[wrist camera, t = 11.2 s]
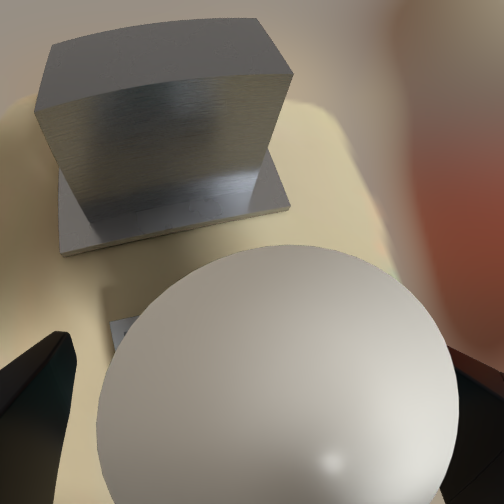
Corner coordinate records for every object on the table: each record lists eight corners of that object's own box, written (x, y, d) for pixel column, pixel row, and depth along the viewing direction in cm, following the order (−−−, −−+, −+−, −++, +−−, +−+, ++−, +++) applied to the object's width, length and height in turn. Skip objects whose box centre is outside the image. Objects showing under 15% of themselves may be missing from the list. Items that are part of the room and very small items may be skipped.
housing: (287, 210, 20) (351, 99, 11) (63, 257, 16) (-17, 158, 8) (251, 119, 23) (282, 8, 14) (62, 152, 19) (22, 42, 10)
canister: (254, 438, 14) (419, 565, 2) (166, 422, 14) (82, 558, 2) (269, 356, 16) (464, 284, 4) (183, 338, 15) (152, 206, 4)
